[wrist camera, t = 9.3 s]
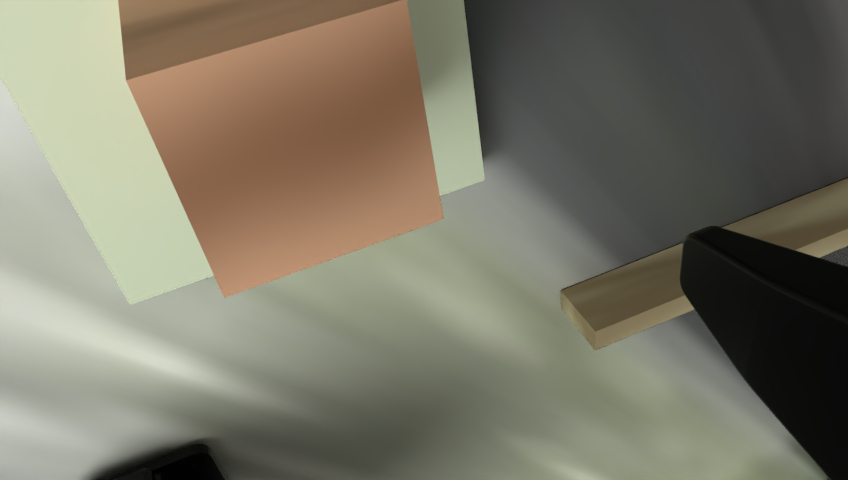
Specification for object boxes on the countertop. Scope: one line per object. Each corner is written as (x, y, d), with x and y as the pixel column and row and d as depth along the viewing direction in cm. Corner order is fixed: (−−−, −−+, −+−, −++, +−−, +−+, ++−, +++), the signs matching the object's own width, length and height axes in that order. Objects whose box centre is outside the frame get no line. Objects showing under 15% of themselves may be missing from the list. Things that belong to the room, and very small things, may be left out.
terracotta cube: (375, 124, 20) (443, 218, 16) (197, 181, 19) (223, 297, 15) (333, -64, 16) (406, -2, 13) (117, -6, 16) (125, 80, 12)
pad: (471, 165, 23) (484, 180, 22) (128, 283, 21) (130, 304, 20) (419, -243, 16) (435, -242, 15) (-101, -128, 14) (-113, -119, 13)
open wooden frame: (881, 181, 31) (932, 210, 30) (561, 308, 28) (595, 350, 26) (1027, -294, 21) (1121, -296, 19) (542, -172, 18) (595, -160, 16)
